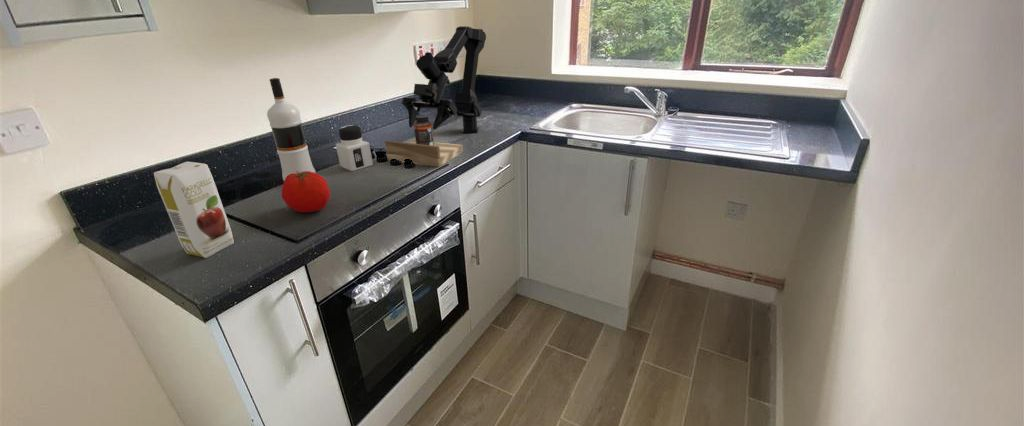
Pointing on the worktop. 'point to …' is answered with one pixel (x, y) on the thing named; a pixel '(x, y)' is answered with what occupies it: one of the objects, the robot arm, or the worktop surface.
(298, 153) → the vodka
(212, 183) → the juice carton
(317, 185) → the tomato
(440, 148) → the wooden block
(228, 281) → the worktop surface
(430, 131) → the supplement bottle
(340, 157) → the container
